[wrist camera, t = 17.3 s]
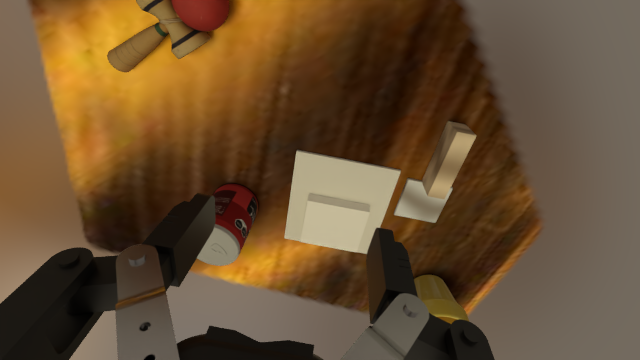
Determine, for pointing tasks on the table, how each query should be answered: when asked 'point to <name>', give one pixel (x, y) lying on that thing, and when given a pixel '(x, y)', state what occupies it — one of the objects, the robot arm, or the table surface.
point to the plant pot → (438, 298)
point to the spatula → (436, 176)
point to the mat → (339, 189)
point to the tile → (334, 222)
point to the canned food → (229, 224)
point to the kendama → (171, 29)
